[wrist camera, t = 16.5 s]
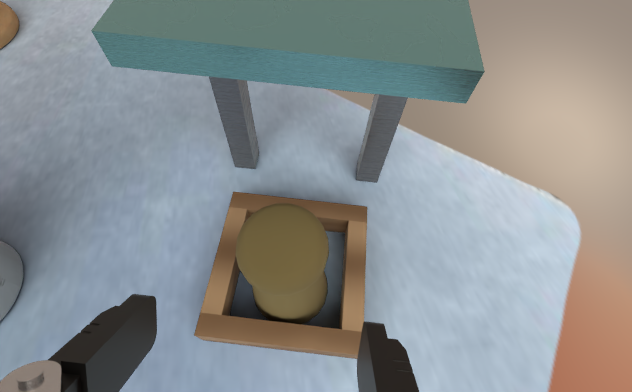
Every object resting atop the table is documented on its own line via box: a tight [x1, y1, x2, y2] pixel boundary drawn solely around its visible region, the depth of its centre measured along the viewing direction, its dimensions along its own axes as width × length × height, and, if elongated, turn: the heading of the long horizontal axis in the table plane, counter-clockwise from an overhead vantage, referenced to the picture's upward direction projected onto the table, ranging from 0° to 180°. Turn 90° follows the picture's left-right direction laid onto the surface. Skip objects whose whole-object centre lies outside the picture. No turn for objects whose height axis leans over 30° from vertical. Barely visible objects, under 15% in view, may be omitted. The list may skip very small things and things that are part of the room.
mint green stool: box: [92, 0, 484, 182], centre depth 23 cm, size 10×14×20 cm
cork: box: [236, 203, 329, 324], centre depth 22 cm, size 6×6×11 cm
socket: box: [194, 192, 367, 359], centre depth 26 cm, size 12×12×2 cm
